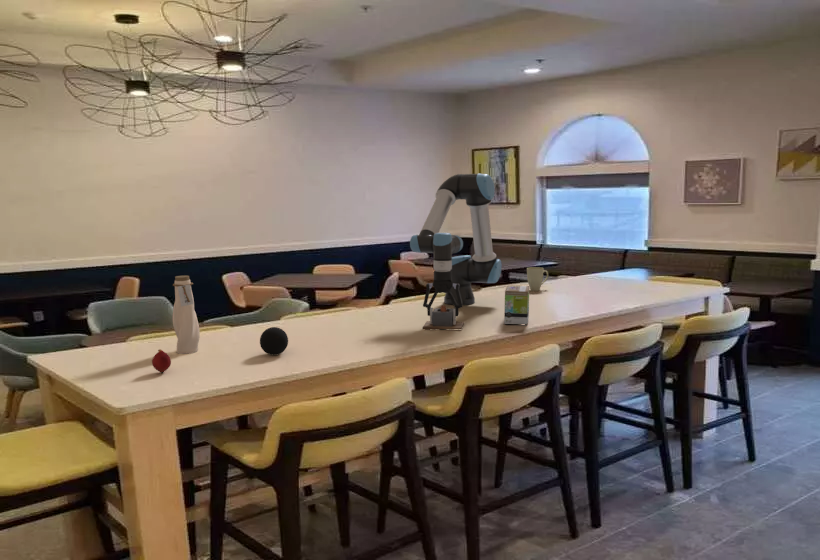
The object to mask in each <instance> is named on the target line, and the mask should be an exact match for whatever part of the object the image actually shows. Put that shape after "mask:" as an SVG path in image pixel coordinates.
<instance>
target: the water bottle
mask: <svg viewBox="0 0 820 560" xmlns="http://www.w3.org/2000/svg"><path fill="white" fill-rule="evenodd" d="M174 278H175V279H174V283H172V287H174V296H175V299H174V304H173V308H172V325H173V329H174V333H175V335H176V338H177V342H176V353H177V354H193V353H196V352H198V351H199V342H200V334H201V332H200V326H199V321H198V317H197V313H196V311H195V301H194V295H193V290H192V285H194V283H193V282H191V281H192V280H191V279H190V275H176V276H174Z"/></svg>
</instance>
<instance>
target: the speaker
mask: <svg viewBox="0 0 820 560" xmlns="http://www.w3.org/2000/svg"><path fill="white" fill-rule="evenodd" d="M259 345H260V347H261V349H262V351H263V352H264V353H265V354H267V355H271V356H278V355H280V354H282V353H283V352H285V351H286V349H287V347H288V345H289V337H288V334H287V333H286V331H285V330H283V329H282V328H280V327H278V326H272V327H268V328H267V329H265V330H264V331H263V332H262V333H261V334H260V337H259ZM277 354H278V355H277Z"/></svg>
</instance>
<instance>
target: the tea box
mask: <svg viewBox="0 0 820 560" xmlns="http://www.w3.org/2000/svg"><path fill="white" fill-rule="evenodd" d="M529 312H530V287H529V286H528V285H506V288H505V290H504V314H503V315H504V318H503V321H504V322H503V323H504V324H503V325H505V324H527V323H528V322H529V317H530V315H529V314H530V313H529ZM527 325H528V324H527Z"/></svg>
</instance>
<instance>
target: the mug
mask: <svg viewBox="0 0 820 560" xmlns="http://www.w3.org/2000/svg"><path fill="white" fill-rule="evenodd" d="M544 273H545V274H546V277H545V278H544ZM526 276H527V279H526V280H527V283H528V285H529V291H532V292H539V291H540V290H541V287H542V286H543V285H544V283H546V281H547V280H548V278H549V271H548V270H545V269H544V267H538V266H537V267H536V266H535V267H534V266H532V267H527V268H526ZM543 278H544V279H543Z"/></svg>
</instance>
